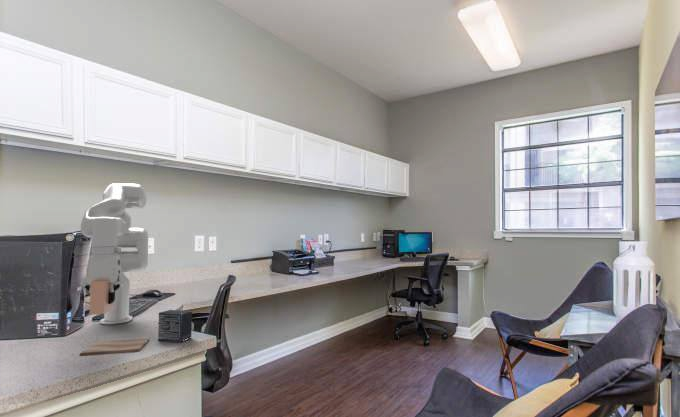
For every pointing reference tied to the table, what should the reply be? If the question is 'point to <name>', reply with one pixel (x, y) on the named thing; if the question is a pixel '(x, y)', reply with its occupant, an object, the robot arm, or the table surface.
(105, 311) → the tan wooden block
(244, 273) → the table surface
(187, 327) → the small box
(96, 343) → the walnut board
